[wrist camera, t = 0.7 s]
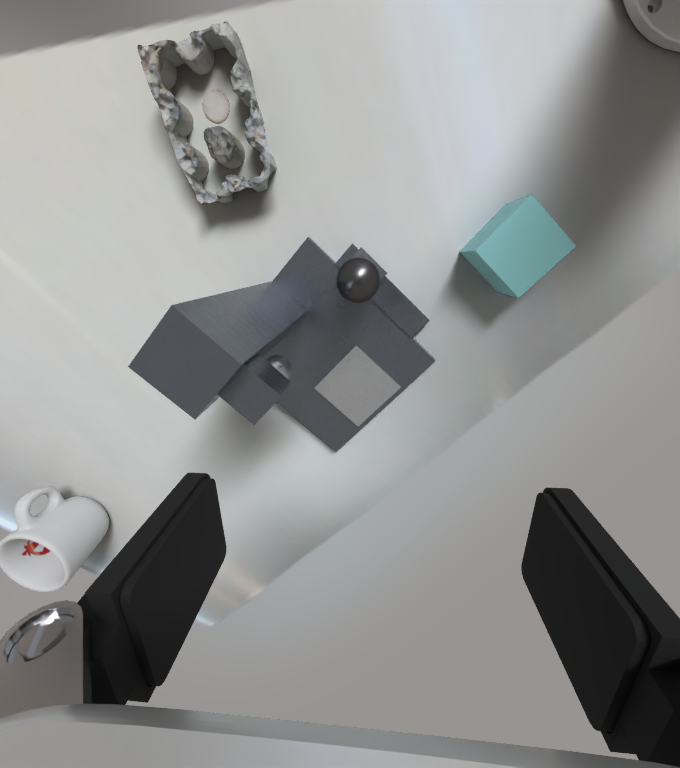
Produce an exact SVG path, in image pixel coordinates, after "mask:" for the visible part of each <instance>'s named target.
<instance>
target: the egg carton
mask: <svg viewBox="0 0 680 768" xmlns="http://www.w3.org/2000/svg"><path fill="white" fill-rule="evenodd" d="M190 36H191V38H188V39H186V40H183V41H181V42H179V43H176V42H175V41H171V40H164V41H159V42H157V43H154V44H153V45H148V46H144V47H142V45H138V53H139V55H140V58H141V60H142V61H141V64H142V67H143V70H144V72H145V74H146V78H147V82H148V84H149V87H150V89H151V92H152V94H153V97H154V99H155V100H156V102H157V103H158V105H159V108H160V111H161V114H162V118H163V122H164V126H165V128H166V130H167V131H168V134H169V137H170V140H171V143H172V145H173V148H174V151H175V155H176V158H177V160H178V162H179V164H180V166H181V168H182V170H183V172H184V174H185V176H186V177H187V179H188V181H189V183H190V185H191V187H192V188H193V190H194V191H195V193H196V198H197V200H198V202H199V204H200V205H201V203H212V202H215V201H218V202H221V203H223V204H225V203H228V202H231V201H233V196H232V194H233V192H237V191H240V190H242V189H244V188H246V187H249V188H253V189H254V190H256V191H257V192H261V191H264V190H267V189H268V180H269V176H270V175H271V173H272V172H274V171H275V170H276V169H277V167H276V163H275V160H274V157H273V156H272V155H271V154H270V153H269V152H268V144H267V140H266V137H265V130H264V127H263V124H264V122H263V118H262V114H261V111H260V109H259V107H258V103H257V99H256V95H255V91H254V86H253V80H252V76H251V71H250V68H249V65H248V62H247V59H246V56H245V53H244V50H243V47H242V44H241V41H240V39H239V37H238V35H237V33H236V32H235V31H234V30H233V28H232V27H231V26H230V25H229V23H228V22H223V23H220V24H213V25H211V27H210V28H208V29H205V30H203V31H193V32H191V33H190ZM224 47H225V48H227V50H228V51H229V53H230V54H231V55H232V56H233V57H235V58H237V60H236V63H235V64H234V66H233V68H232V70H231V71H230V73H231V83H232V86H233V91H234V92H235V93H236V94H237V95H238V96H239V97H240V98H241V99H242V101H243V102H244V103H245V104H246V105H247V106H248V107H250V116H249V119H246V121H245V126H246V132H245V133H246V135H245V136H246V139H247V141H248V143H249V144H250V145H251V146H253V147H255V148H256V149H257V150H258V151H259V152H260V153H261V155H260V161H262V162H263V164H264V169H263V170H262V172H261V176H258V177H252V178H250V179H249V180H248V181H247V180H246V179H245V178H244V177H239V176H236V175H232V174H231V175H227V176H226V181H225V182H223V183H222V190H221V191H220V192H217V193H216V194H217V196H216V195H214V194H212V193H210V192H208V191H205V189H204V187H203V183H202V180H203V179H204V178H205V177H206V176H207V174H208V171H209V165H208V161H207V159H206V157H205V156H204V155H203V154H202V153H201V152H200V151H198V150H197V149H195V148H194V147H192V146H191V145H190V144H189V142H188V140H187V138H186V137H187V136H188V135H189V134H190V133H191V131H192V128H193V117H192V115H191V113H190V111H189V110H188V109H187V108H186V107H185V106H184V105H183V104H182V103H180V102H179V101H178V100H177V99H176V98H175V97H174V95H173V94H172V93H171V88H172V87H173V86H174V85H175V83H176V80H177V66H179V65H182V64H184V63H186V64H187V65H188V66H189V67H190V68H191V69H192V70H193V71H194V72H195V73H197V74H199V75H204V74H207V73H208V72H209V71H210V70H211V69H212V68H213V66H214V62H215V54H214V51H215V50H217V49H221V48H224ZM253 109H255V110H253ZM203 110H204V112H205V115H206V116H207V118H208V119H209V120H210V121H212V122H213V123H222V122H223V121H225V120H226V118H227V117H228V115H229V110H230V105H229V101H228V99H227V97H226V95H225V94H224V93H223V92H221V91H219V90H218V89H213V90H210V91H208V92H207V94H206V95H205V97H204V99H203ZM204 139H205V141H206V143H207V146H208V149H209V152H210V155H211V157H212V158H213V159H215V160H216V161H217V162H219V163H220V164H222V165H224V166H225V167H227V168H229V169H236V168H238V167H239V166H240V165H241V164H242V162H243V160H244V157H245V152H244V148H243V146H242V144H241V143H240V141H239V140H238V139H237V138H236V137H235V136H233V135H232V134H231V133H230V132H229V131H228V130H226V129H225V128H223V127H220V126H216V127H212V128H207V129H205V131H204Z"/></svg>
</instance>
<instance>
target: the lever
mask: <svg viewBox="0 0 680 768" xmlns="http://www.w3.org/2000/svg"><path fill="white" fill-rule="evenodd" d="M386 274H387V273H386V272H385V271H384V270H383V269H382V268H381V267H380V266H379V265H378V264H377V263H376V262H375V261H374V260H373V259H372V258H371V257H370V256H369V255H368V254H367V253H366V252H365V251H364V250H363V249H362V248H360V249H359V250H358V251H357V253H356V254H355V255H354V256H353V257H352V258H351V259H350V260H348V261H346V262H345V263H344V264H343V265H342V266H341V267H340V269H339V271H338V274H337V278H336V283H337V288H338V290H339V292H340V294H341V295H342V296H343V297H344V298H345V299H346V300H348V301H350V302H353V303H362V302H365V301H368V300H369V299H371V298H372V297H373V296H374V295H375V294H376V292H377V290H378V288H379V284H380V280H381V279H382V278H383V277H384V276H385V275H386Z"/></svg>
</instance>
